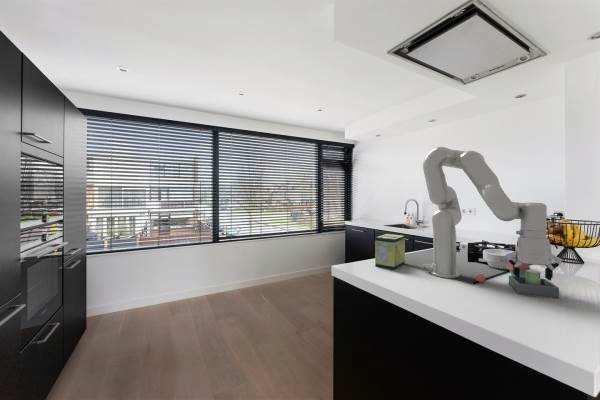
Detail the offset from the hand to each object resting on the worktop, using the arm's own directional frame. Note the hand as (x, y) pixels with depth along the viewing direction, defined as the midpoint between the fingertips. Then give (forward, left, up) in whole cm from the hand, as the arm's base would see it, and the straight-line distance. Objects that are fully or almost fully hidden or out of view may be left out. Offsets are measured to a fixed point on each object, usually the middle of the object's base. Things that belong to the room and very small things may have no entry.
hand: (532, 277), depth 104 cm
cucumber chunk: (0, 0, -4) cm, 4 cm away
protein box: (-54, +20, -6) cm, 58 cm away
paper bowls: (-1, +35, -6) cm, 35 cm away
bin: (0, 0, -5) cm, 5 cm away
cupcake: (+1, +18, -5) cm, 19 cm away
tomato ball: (-16, +5, -5) cm, 18 cm away
